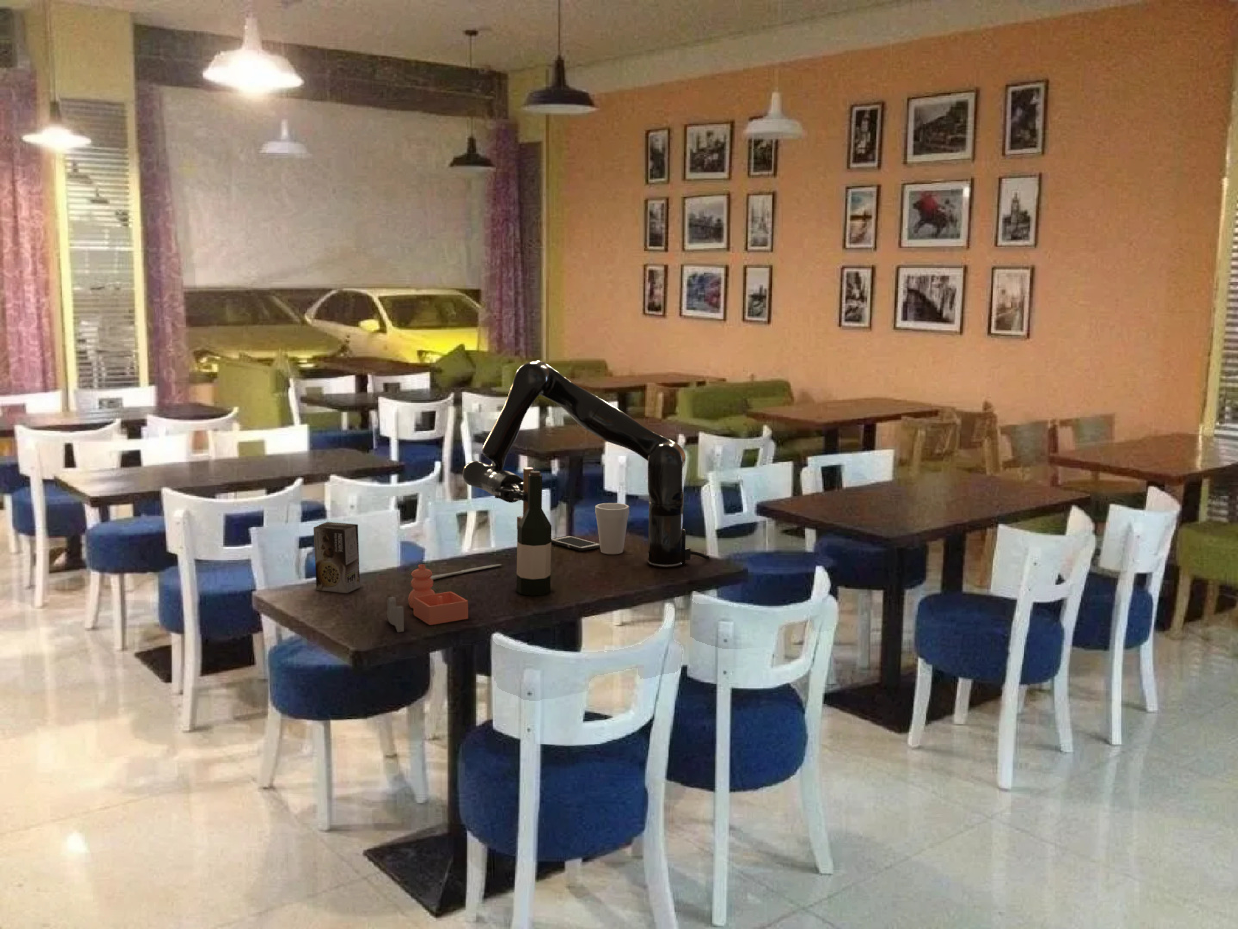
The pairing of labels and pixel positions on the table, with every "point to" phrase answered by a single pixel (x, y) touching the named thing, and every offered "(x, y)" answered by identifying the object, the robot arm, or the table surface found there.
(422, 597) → the pottery
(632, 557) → the table surface
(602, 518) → the foam cup
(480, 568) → the butter knife
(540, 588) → the wine bottle
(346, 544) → the coffee box
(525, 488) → the brush
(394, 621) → the grey stepped plate
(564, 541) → the cell phone
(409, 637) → the table surface
